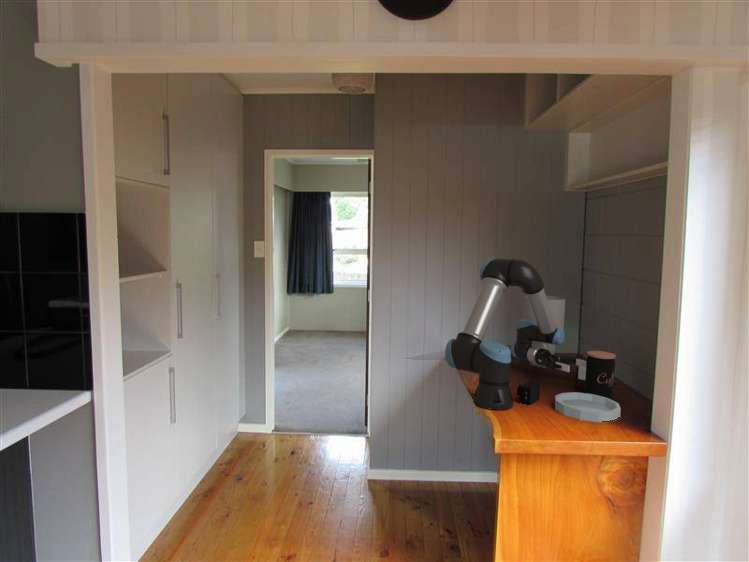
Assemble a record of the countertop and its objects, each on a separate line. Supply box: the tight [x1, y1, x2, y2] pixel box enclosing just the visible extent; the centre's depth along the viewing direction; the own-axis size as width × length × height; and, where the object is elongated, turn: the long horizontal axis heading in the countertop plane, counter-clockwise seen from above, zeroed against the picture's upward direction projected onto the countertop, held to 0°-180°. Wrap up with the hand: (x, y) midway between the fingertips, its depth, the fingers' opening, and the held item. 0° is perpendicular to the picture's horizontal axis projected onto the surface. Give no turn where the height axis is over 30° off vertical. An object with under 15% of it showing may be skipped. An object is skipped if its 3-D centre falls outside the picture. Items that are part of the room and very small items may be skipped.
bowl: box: [554, 391, 622, 423], centre depth 176 cm, size 22×22×4 cm
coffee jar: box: [584, 350, 617, 400], centre depth 192 cm, size 11×11×18 cm
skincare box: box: [577, 366, 586, 381], centre depth 219 cm, size 6×6×7 cm
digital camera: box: [516, 380, 541, 406], centre depth 185 cm, size 10×5×7 cm, turn 140°
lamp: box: [522, 295, 566, 369], centre depth 241 cm, size 20×20×35 cm
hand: (579, 367), depth 201 cm, fingers open, 13 cm apart
